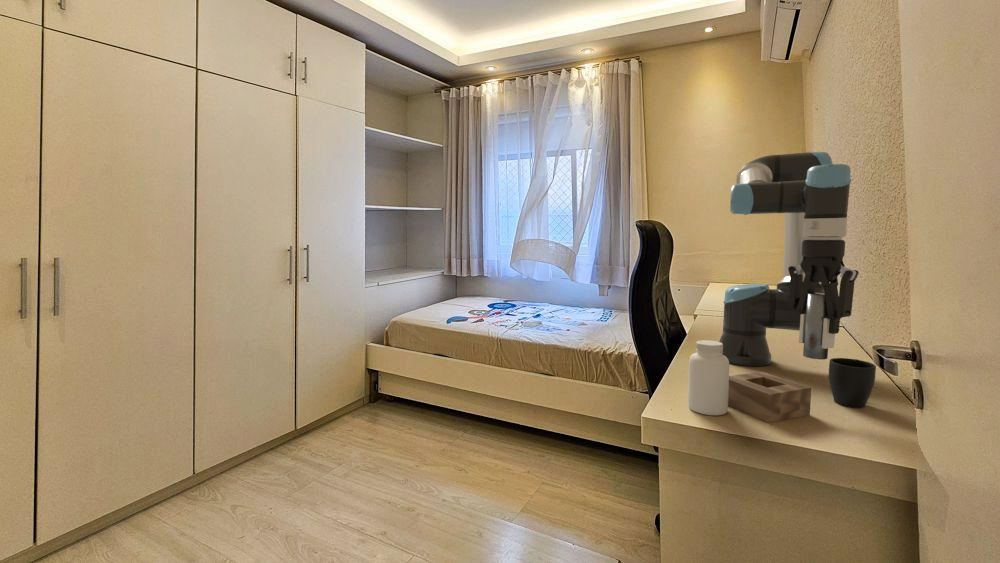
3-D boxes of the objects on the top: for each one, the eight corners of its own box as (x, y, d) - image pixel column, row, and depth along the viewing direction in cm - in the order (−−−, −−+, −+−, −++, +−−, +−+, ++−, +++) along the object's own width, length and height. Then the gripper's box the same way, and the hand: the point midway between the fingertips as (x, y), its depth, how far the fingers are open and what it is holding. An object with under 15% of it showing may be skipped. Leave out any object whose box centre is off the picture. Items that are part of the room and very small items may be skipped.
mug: (878, 399, 103) (881, 359, 102) (869, 413, 95) (872, 370, 94) (835, 390, 109) (837, 353, 108) (822, 403, 101) (825, 362, 100)
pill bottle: (686, 400, 103) (689, 337, 101) (725, 405, 100) (728, 340, 98) (688, 413, 95) (690, 345, 94) (729, 418, 92) (733, 348, 91)
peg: (812, 353, 101) (816, 292, 99) (832, 358, 97) (837, 294, 95) (798, 355, 99) (802, 293, 98) (818, 360, 95) (822, 296, 93)
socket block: (759, 396, 105) (760, 371, 105) (809, 414, 94) (811, 387, 94) (720, 402, 101) (721, 377, 101) (768, 423, 90) (770, 394, 89)
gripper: (773, 238, 102) (767, 337, 104) (856, 239, 86) (846, 357, 88) (796, 238, 104) (790, 334, 107) (881, 239, 88) (871, 353, 91)
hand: (815, 344), depth 98 cm, fingers closed on peg, 4 cm apart
